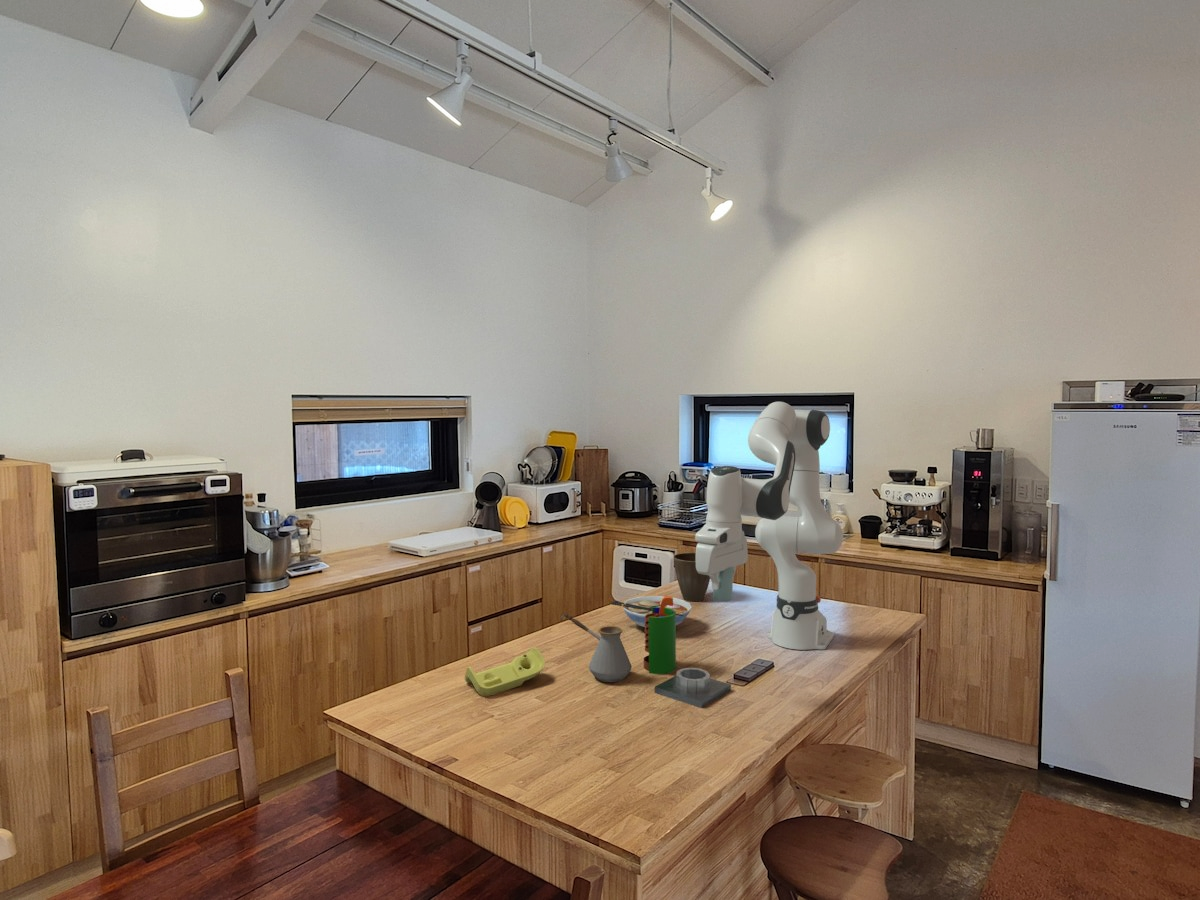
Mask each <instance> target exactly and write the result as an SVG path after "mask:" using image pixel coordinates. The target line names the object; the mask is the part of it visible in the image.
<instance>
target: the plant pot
mask: <svg viewBox="0 0 1200 900" xmlns="http://www.w3.org/2000/svg"><path fill="white" fill-rule="evenodd" d="M673 563H674V564H673V565H674V570H675V574H676V579H677V583H678V586H679V590H680V593H681V595H682V598H683V600H684V601H686V602H694V603H695V602H698V603H699V602H702V601H704V600H705V599H704V598H705V595H706V593H707V590H708V587H709V585H710V581H711V579H710V576H709V575H703V574H699V573H698V572H697V570H696V552H682V553H676V554H674V555H673Z"/></svg>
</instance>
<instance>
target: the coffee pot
mask: <svg viewBox="0 0 1200 900" xmlns="http://www.w3.org/2000/svg"><path fill="white" fill-rule="evenodd" d="M565 618H567V619H568V621H571V622H572V623H573V624H574V625H575V626H577V627H578V628H580V629H582V630H583V631H585V632H588V633H589V634H590V635H591V636H593V637H594V638H595V639H596V640H598V643H597V646H596V648H595V651H594V653H593V654H592V658H591V660H590V661H589V665H588V669H589V671H590V673H591V674H592V675H593V676H594V677H595V678H596V679H597V680H598V681H601V682H606V683H615V682H620V681H622V680H624V679H625V678H626V677H627V676H628V675H629V674H630V672H631V670H632V664H631V661H630V658H629V656H628V654H627V651H626V650H625V647H624V644H623V642H622V640H621V634H622V633H623V629H622V628H621V627H619V626H613V625H611V626H608V625H607V626H602V627H600V628H598V633H599V634H600V635H599V634H597V633H595V632H594V631H592V630H591V629H589V628H588V627H587V626H586V625H584V624H583V623H582V622H580V621H579V620H577V619H575V618H573V616H570V615H569V614H567V613H565V612H564V613H563V615H561V617H560V620H561V621H563V620H565Z"/></svg>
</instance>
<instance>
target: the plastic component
mask: <svg viewBox="0 0 1200 900" xmlns="http://www.w3.org/2000/svg"><path fill="white" fill-rule="evenodd" d="M545 664H546V663H545V658H544V656H543V654H542V653H541V651H540V650H539V648H538V647H532V648H530V649H529V650H528V652H526V653H523V654H522V655H519V656H516V657H514V659H513V660H512V662H508V663H506V664H502V665H499V666H496V667H492V668H490V669H486V670H483V671H479V672H477V673H475V671H474V669H473V668H472V667H471V666H468V667H467V668H466V672H465V675H464V680H465V682H466V683H467V684H472V685H473V687H474V689H475V690H476V692H477V693H478V694H479V695H481V696H482V697H488V696H489V697H490V696H493V695H497V694H499V693H502V692H505V691H508V690H512V689H515V688H517V687H520V686H522V685H523V683H524V682H525V681H528V680H530V679H532V678H534V677H537V675H539V673H541V671H543V669H544V667H545Z"/></svg>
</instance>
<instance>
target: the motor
mask: <svg viewBox="0 0 1200 900" xmlns="http://www.w3.org/2000/svg"><path fill="white" fill-rule="evenodd" d="M673 598H674V596H669V595H665V597H663V599H662V601H661V605H660V607H652V613H651V614H647V615H645V627H644V633H645V634H644V639H645V640H644V644H645V645H644V651H645V652H647V653H648V654H647V655H646V656H645V657H643V669H645V671H647V672H648V674H650V675H664V674H670V673H672V672H674V671H675V670H676V669H677V656H676V655H677V652H676V651H677V645H676V643H677V642H676V641H677V637H676V636H677V635H676V629H677V627H676V626H677V625H676V612H675V611H674V610H673V609H670V608H665V606H667V605H669V606H673Z"/></svg>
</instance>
